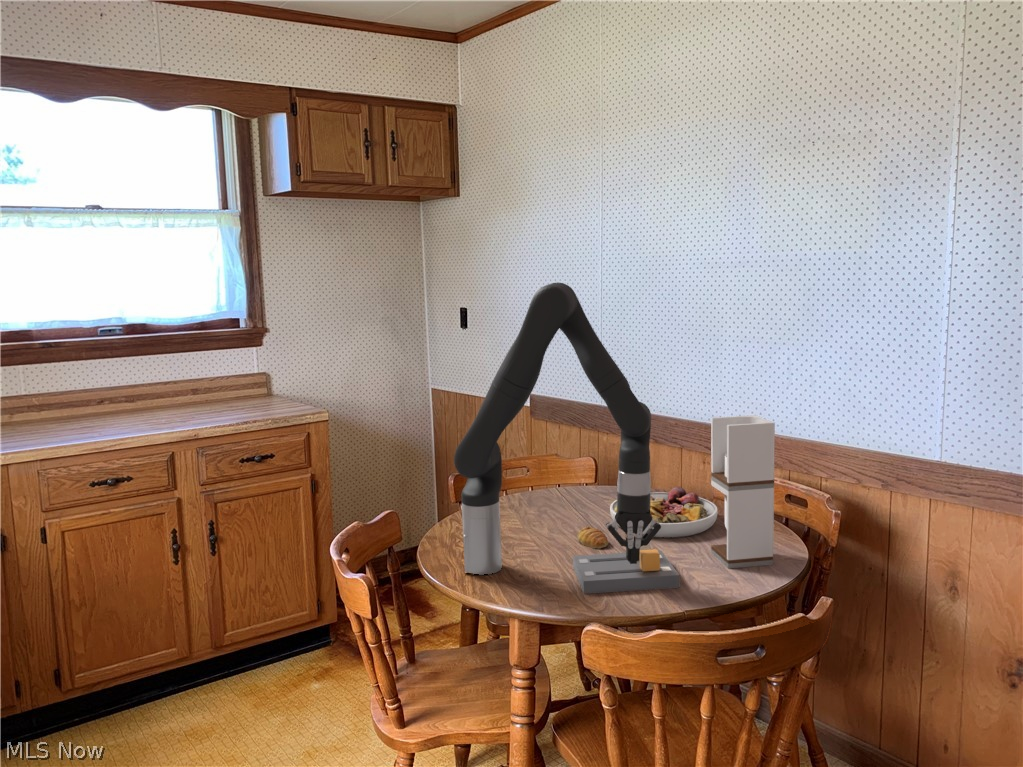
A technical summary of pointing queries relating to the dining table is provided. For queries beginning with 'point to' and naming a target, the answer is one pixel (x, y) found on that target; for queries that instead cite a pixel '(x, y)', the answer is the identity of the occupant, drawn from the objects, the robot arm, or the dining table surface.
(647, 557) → the slider
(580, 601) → the dining table surface
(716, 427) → the white upright stand
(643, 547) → the on slider
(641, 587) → the switch panel
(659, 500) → the bowl
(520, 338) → the robot arm
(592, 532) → the pastry
